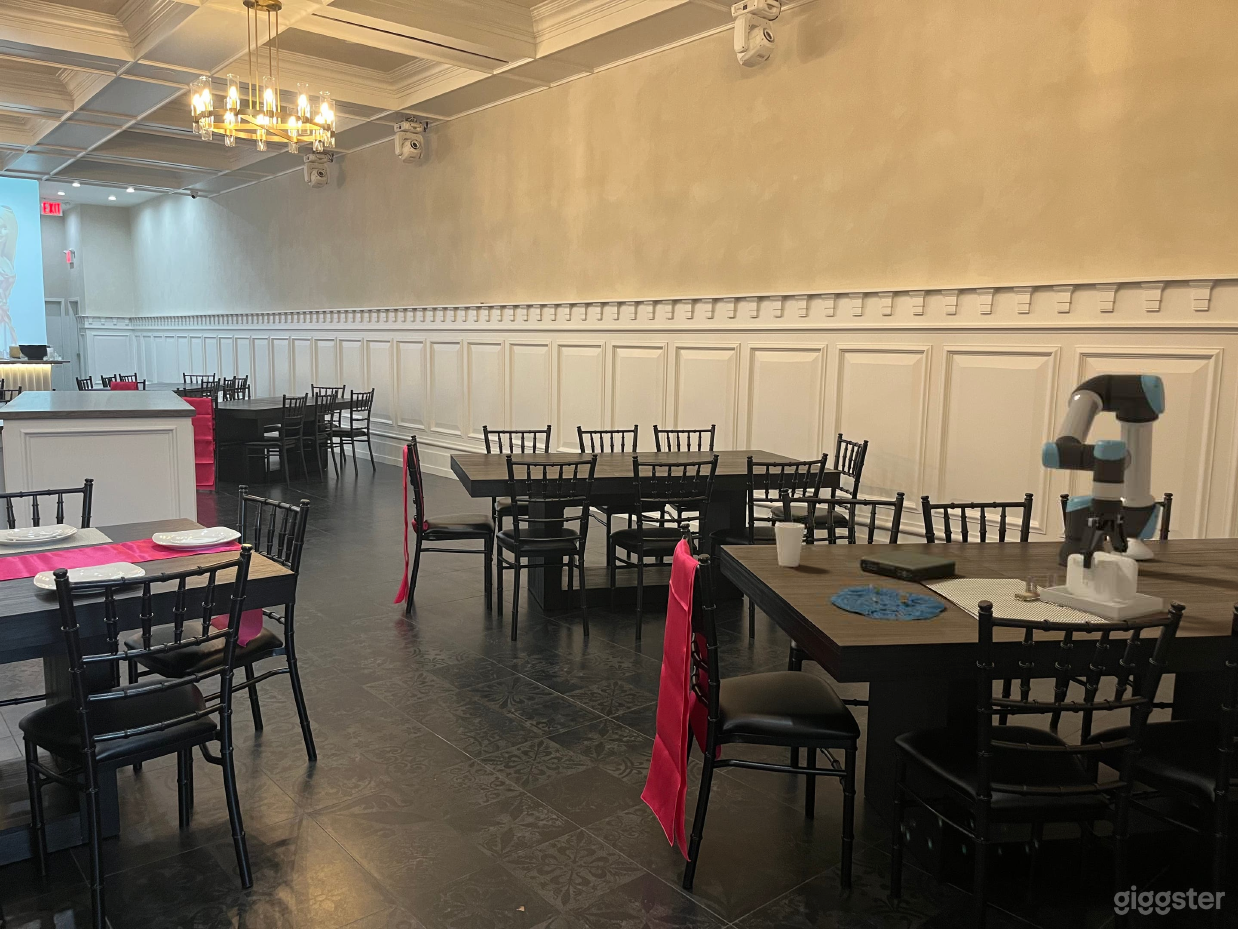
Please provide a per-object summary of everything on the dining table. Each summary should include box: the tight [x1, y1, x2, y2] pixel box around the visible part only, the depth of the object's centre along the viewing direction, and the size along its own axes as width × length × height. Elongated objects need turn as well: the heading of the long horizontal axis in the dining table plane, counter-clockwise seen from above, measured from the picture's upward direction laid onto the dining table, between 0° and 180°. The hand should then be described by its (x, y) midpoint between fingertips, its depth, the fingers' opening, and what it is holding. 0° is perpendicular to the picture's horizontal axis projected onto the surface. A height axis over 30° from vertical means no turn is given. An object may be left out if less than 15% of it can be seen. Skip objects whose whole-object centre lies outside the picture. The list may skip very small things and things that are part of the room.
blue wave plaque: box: [829, 583, 946, 621], centre depth 244 cm, size 30×30×5 cm
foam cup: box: [774, 522, 806, 568], centre depth 294 cm, size 10×9×13 cm
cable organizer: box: [1065, 552, 1139, 603], centre depth 245 cm, size 15×11×12 cm
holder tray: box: [1039, 584, 1164, 622], centre depth 246 cm, size 20×22×4 cm
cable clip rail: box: [1014, 572, 1067, 600], centre depth 258 cm, size 28×3×6 cm, turn 120°
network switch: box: [859, 549, 956, 583], centre depth 285 cm, size 23×24×5 cm
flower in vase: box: [1122, 539, 1155, 561], centre depth 312 cm, size 13×11×25 cm
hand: (1101, 578), depth 245 cm, fingers closed on cable organizer, 11 cm apart
